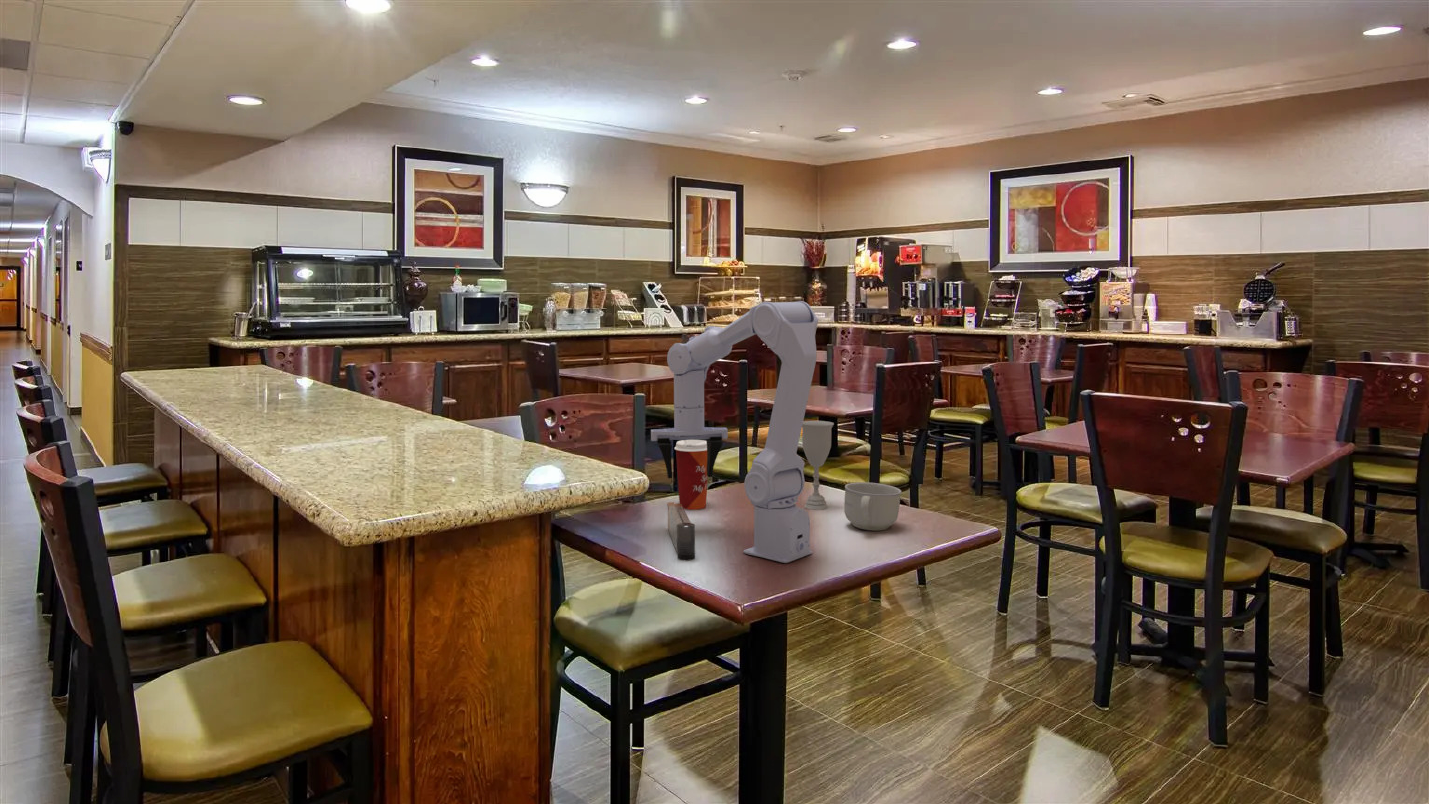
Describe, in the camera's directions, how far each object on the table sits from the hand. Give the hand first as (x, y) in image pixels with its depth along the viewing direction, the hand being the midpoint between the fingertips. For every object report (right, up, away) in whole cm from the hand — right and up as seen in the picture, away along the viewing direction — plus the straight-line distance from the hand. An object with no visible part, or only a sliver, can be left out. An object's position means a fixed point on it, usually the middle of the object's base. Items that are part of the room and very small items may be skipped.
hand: (689, 476), depth 174 cm
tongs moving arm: (-2, -11, -7) cm, 13 cm away
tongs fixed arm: (-1, -12, -8) cm, 14 cm away
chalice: (+26, -8, +19) cm, 34 cm away
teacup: (+35, -10, +2) cm, 36 cm away
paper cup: (0, -8, +20) cm, 21 cm away
